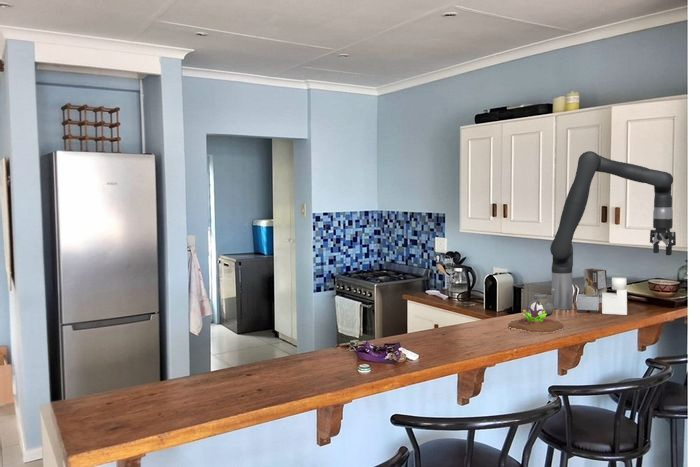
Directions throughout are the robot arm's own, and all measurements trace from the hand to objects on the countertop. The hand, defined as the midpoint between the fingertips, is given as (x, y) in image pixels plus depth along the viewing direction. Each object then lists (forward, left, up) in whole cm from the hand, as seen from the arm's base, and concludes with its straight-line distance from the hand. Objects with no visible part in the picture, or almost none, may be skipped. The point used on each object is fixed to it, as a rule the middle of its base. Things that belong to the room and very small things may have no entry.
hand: (662, 254), depth 253 cm
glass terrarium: (-49, -19, -27) cm, 59 cm away
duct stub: (-30, -5, -26) cm, 41 cm away
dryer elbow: (-19, -5, -26) cm, 33 cm away
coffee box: (-28, +21, -27) cm, 44 cm away
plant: (-49, -42, -27) cm, 70 cm away
